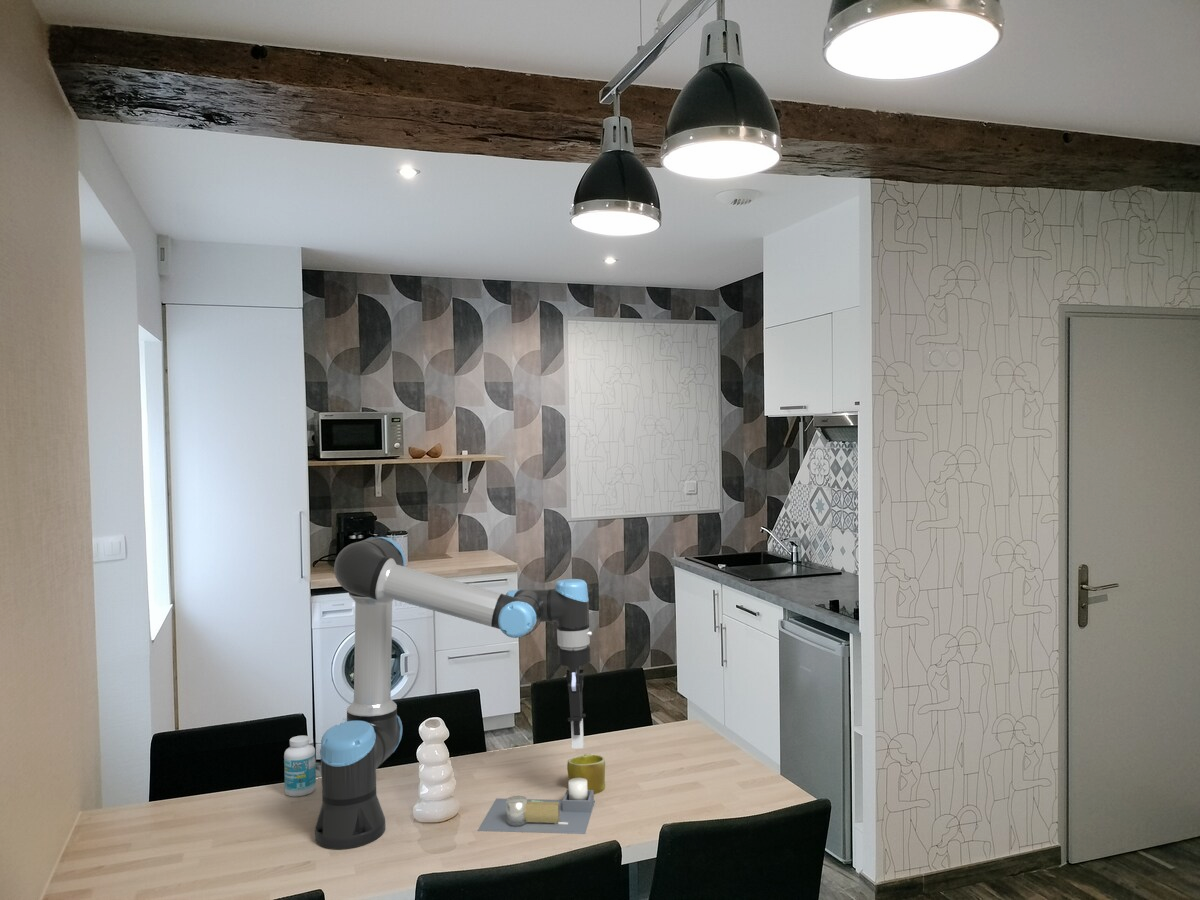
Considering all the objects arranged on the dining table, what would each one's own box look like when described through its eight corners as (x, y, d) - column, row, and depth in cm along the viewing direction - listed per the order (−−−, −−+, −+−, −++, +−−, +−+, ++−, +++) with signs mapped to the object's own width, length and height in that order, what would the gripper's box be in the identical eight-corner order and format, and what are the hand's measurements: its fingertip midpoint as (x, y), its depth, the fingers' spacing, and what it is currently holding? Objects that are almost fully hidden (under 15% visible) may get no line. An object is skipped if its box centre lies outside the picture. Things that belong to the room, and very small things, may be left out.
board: (477, 836, 183) (476, 819, 183) (496, 803, 200) (495, 788, 200) (585, 839, 181) (584, 822, 181) (595, 805, 197) (594, 790, 197)
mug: (607, 795, 199) (595, 752, 201) (568, 806, 201) (557, 763, 203) (620, 785, 210) (608, 745, 213) (582, 795, 212) (572, 755, 215)
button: (567, 804, 193) (567, 785, 193) (570, 796, 197) (570, 777, 197) (586, 804, 192) (585, 785, 192) (588, 796, 197) (588, 777, 197)
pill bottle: (278, 797, 208) (277, 743, 208) (294, 785, 215) (293, 732, 215) (306, 798, 206) (305, 744, 206) (321, 786, 214) (320, 733, 214)
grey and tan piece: (504, 825, 185) (504, 804, 185) (509, 816, 189) (509, 795, 189) (557, 827, 184) (556, 805, 183) (560, 817, 188) (560, 796, 188)
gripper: (588, 652, 188) (592, 757, 188) (591, 639, 201) (595, 737, 201) (555, 653, 188) (559, 757, 188) (560, 640, 201) (564, 737, 201)
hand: (577, 747), depth 195 cm, fingers closed
